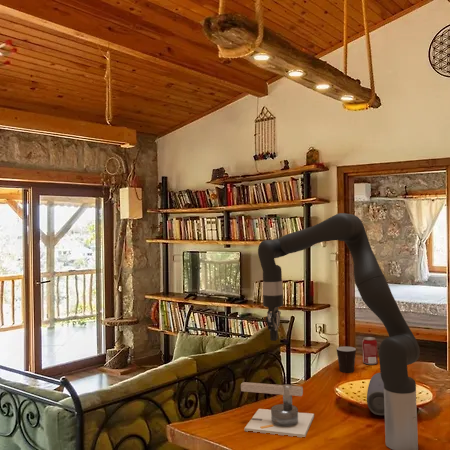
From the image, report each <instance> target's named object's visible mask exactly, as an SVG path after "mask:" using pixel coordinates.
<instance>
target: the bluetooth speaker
mask: <svg viewBox="0 0 450 450" xmlns="http://www.w3.org/2000/svg"><path fill="white" fill-rule="evenodd" d="M366 403H367V404H366V405H367V407H368V410H369V411H370V412H371V413H373V414H374V415H376V416H385V410H384V383H383V381H382V378H381V373H380V372H377V373H375V374H373V375H372V376H371V378H370V380H369V383H368V386H367V391H366Z"/></svg>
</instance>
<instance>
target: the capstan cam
mask: <svg viewBox="0 0 450 450" xmlns="http://www.w3.org/2000/svg"><path fill="white" fill-rule="evenodd" d="M303 388H304V387H303V386H297V385H291V384H289V383H286V384H274V383H273V384H272V383H271V384H270V383H262V382H261V383H259V382H247V381H246V382H245V381H242V383H241V384H240V391H241V392H245V393H247V392H248V393H259V394H260V393H261V394H271V395H281V396H282V402H283V403H280V404H275V405H273V406H272V407H271V408H270V410H271V421H272V423H274V424H276V425H279V426H291V425H295V424H297V423H298V412H299V408H298V407H297V406H295V405H293V396H295V397H302V396H303V394H304V389H303Z"/></svg>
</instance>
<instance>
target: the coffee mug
mask: <svg viewBox="0 0 450 450" xmlns="http://www.w3.org/2000/svg"><path fill="white" fill-rule="evenodd" d="M356 352H357V349H356V347H353V346H338V347H336V355H337V362H338V369H339V371H340V373H344V374H351V373H354V372H355V364H356Z"/></svg>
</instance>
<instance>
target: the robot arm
mask: <svg viewBox="0 0 450 450" xmlns="http://www.w3.org/2000/svg"><path fill="white" fill-rule="evenodd" d="M332 241H339V242H344V243H345V244H346V246H347V248H348V250H349V252H350V255H351V257H352V265H353V279H354V282H355V285H356V287H357V291H358V293H359V295H360V298H361V299H362V301H363V303H364V304H365V305H366V306H367V307H368V309H369V310H370V311H371V312H372V313H374V315H376V317H377V318H378V319H379V320H380V322H381V323H382V324H383V325H384V328H385V330H386V332H387V334H388V337H386V338H384V339H383V340H381V342H380V344H379V349H378V359H379V360H378V361H379V371H380V372H379V373H381V378H382V381H383V383H384V410H385V415H384V434H385V436H384V437H385V439H384V440H385V446H386V447H387V448H389V449H390V450H419V445H418V443H419V440H418V439H419V438H418V437H419V436H418V434H419V433H418V415H417V414H418V413H417V412H418V411H417V382H416V380H415V379H414V378H413V377H412V376H411V377H410V376H409V372H408V366H410V365H411V364H414V363H416V362H417V361H418V360H419V358H420V354H421V351H420V350H421V349H420V346H419V342H418V341H417V339H416V337H415V335H414V334H413V332H412V330H411V328H410V326H409V325H408V323H407V322H406V320H405V318H404V316H403V314H402V312H401V310H400V308H399V306H398V303H397V301H396V300H395V298H394V296H393V293H392V291H391V288H390V285H389V283H388V282H387V279H386V277H385V274H384V272H383V271H382V268H381V266H380V264H379V262H378V260H377V257H376V256H375V254H374V251H373V249H372V247H371V244H370V241H369V238H368V235H367V231H366V229H365V226H364V223H363V221H362V219H360V217H359V216H357V215H355V214H353V213H351V214H350V213H346V212H340V213H336V214H334V215H332V216H330V217H328V218H326V219H325V220H323V221H320V222H319V223H317V224H315V225H312V226H309V227H307V228H303V229H299V230H298V231H294V232H290V233H287V234H284V235H283V236H282V237H280V238H274V239H264V240H262V241H261V242H260V243H259V245H258V249H257V255H258V259H259V263H260V265H261V269H262V305H263V307H265V308H268V309H267V311H266V316H265V319H266V320H265V321H266V325H267V329H268V330H269V333H270V335H269V337H270V338H269V339H270V341H272V342H274V341H275V342H276V341H277V340H278V338H279V336H278V335H279V333H278V332H279V327H280V322H281V310H279V308H281V307H283V306H284V288H283V287H284V285H283V278H282V267H281V266H280V265H278V264H277V263H276V259H279V258H282V257H284V256H288V255H289V254H294V253H297V252H301V251H303V250H307V249H309V248H311V247H313V246H315V245H317V244H320V243H323V242H332Z"/></svg>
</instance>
